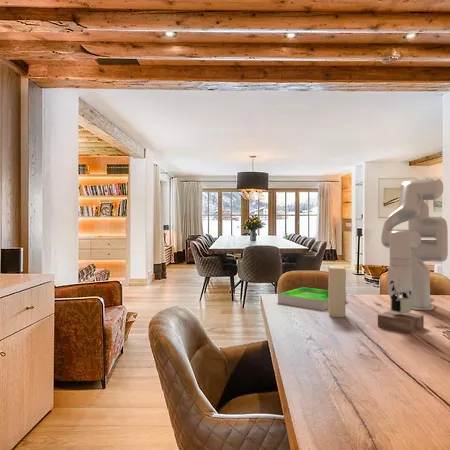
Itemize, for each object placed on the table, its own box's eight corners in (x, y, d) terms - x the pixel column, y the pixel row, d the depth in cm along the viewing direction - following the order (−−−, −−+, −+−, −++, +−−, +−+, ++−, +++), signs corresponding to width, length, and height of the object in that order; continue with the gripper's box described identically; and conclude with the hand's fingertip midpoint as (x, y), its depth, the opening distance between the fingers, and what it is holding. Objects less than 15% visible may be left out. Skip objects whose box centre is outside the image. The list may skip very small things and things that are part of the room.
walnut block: (392, 322, 151) (392, 309, 151) (423, 328, 141) (423, 315, 141) (377, 327, 143) (377, 314, 143) (409, 334, 134) (409, 321, 134)
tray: (277, 303, 187) (277, 293, 186) (302, 296, 205) (302, 287, 205) (323, 311, 170) (323, 300, 170) (346, 302, 189) (346, 292, 189)
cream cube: (398, 309, 146) (398, 296, 146) (410, 311, 141) (410, 298, 141) (390, 310, 143) (390, 297, 143) (402, 313, 139) (402, 300, 139)
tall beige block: (347, 317, 157) (347, 268, 157) (329, 316, 158) (329, 268, 158) (345, 313, 165) (345, 266, 165) (328, 312, 166) (328, 265, 166)
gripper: (404, 260, 150) (404, 305, 150) (377, 263, 141) (377, 310, 141) (422, 262, 143) (422, 308, 143) (395, 265, 135) (395, 314, 135)
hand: (400, 309), depth 142 cm, fingers closed on cream cube, 4 cm apart
